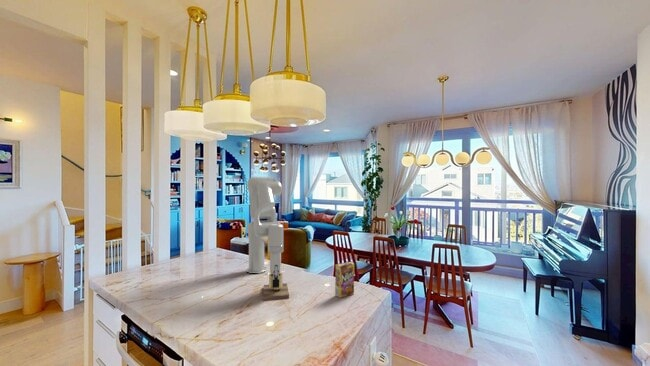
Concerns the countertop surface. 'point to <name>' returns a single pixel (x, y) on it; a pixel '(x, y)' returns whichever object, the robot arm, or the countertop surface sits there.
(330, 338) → the countertop surface
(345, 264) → the candy box
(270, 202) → the robot arm
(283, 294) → the post stand
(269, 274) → the wooden cup
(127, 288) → the countertop surface
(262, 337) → the countertop surface
